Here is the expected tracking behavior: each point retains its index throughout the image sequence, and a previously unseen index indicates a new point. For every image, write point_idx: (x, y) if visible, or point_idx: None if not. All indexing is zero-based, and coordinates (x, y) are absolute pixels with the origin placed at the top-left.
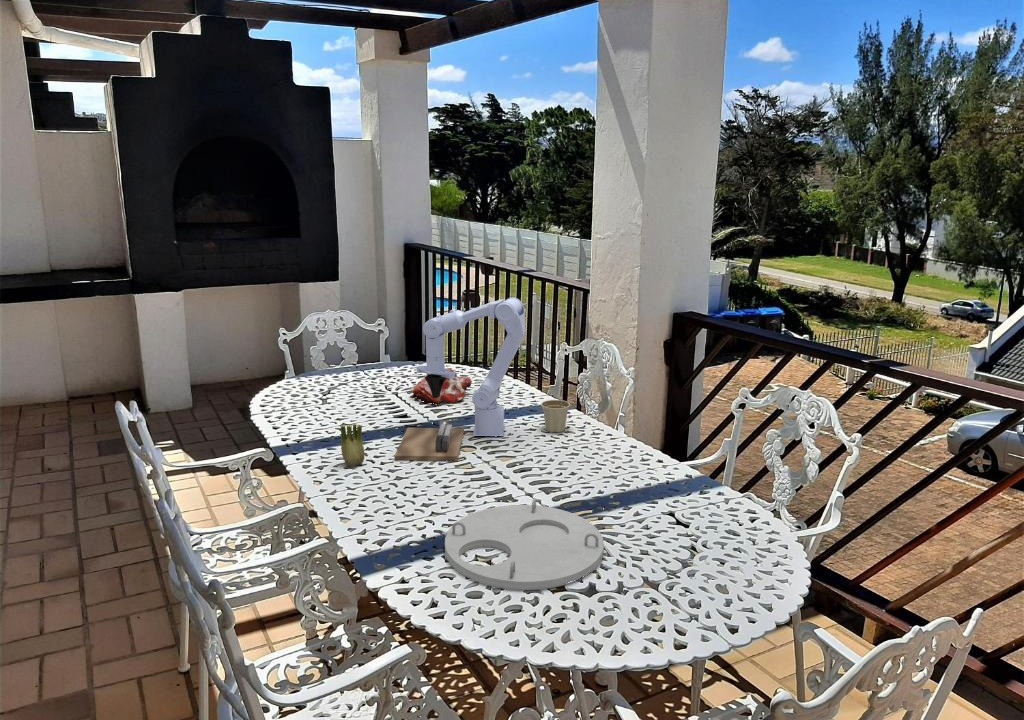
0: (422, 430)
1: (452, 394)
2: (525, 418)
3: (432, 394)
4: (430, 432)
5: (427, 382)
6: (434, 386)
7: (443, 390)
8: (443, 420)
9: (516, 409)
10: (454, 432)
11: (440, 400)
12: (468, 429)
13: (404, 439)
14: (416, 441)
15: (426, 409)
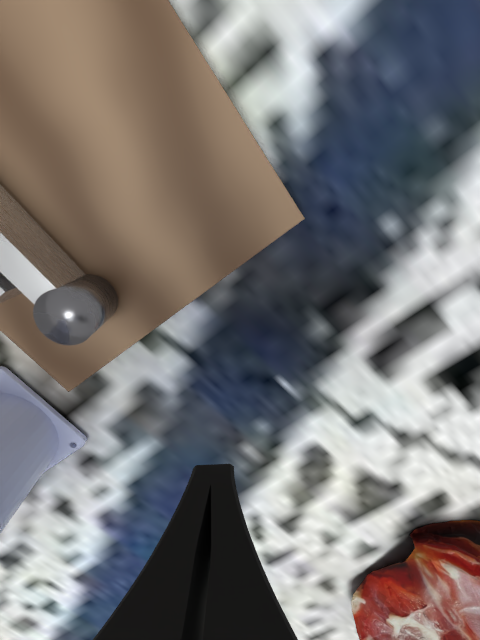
0: (200, 238)
1: (393, 613)
2: (52, 592)
3: (224, 484)
4: (141, 242)
5: (288, 632)
6: (155, 588)
7: (440, 621)
8: (77, 326)
9: None
10: None
11: (410, 558)
12: (102, 418)
13: (159, 19)
14: (69, 48)
15: (422, 482)
